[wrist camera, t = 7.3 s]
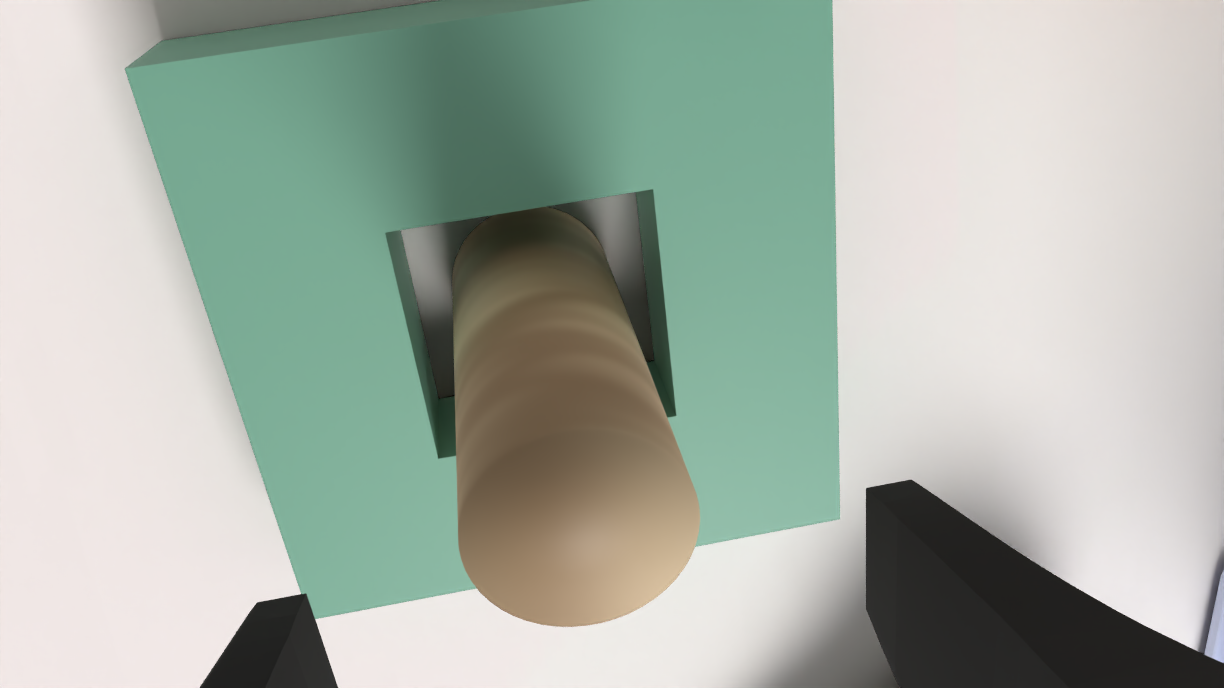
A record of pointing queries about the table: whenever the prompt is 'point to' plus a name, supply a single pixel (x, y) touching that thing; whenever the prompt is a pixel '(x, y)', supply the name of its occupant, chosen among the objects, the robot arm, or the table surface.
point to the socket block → (489, 185)
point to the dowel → (560, 430)
